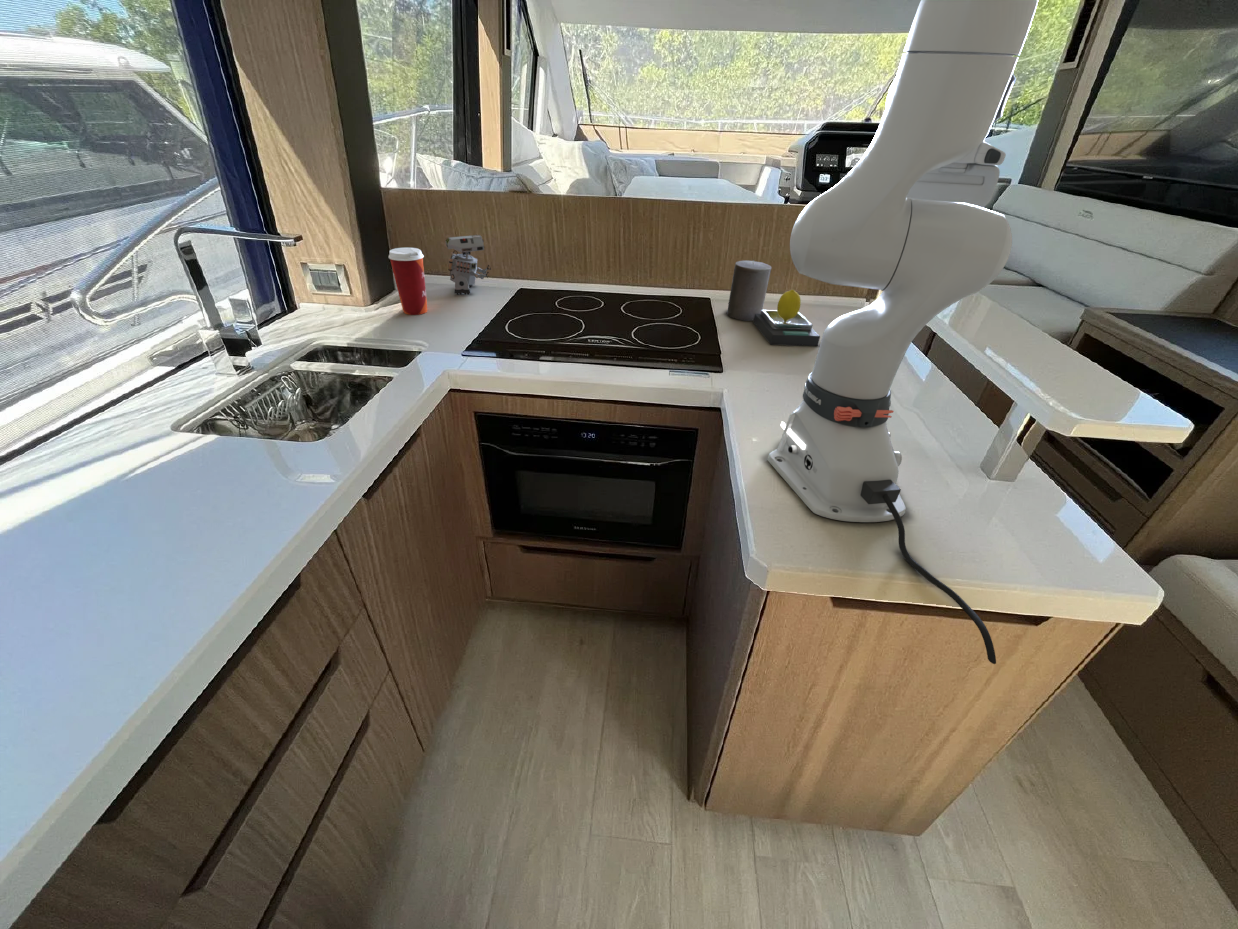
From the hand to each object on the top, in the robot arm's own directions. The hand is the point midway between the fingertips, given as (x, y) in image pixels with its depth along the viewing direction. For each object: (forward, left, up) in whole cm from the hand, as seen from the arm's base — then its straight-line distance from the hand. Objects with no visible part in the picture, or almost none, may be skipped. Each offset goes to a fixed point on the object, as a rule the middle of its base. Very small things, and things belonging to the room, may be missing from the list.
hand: (925, 229), depth 107 cm
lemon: (+19, +17, -26) cm, 37 cm away
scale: (+18, +17, -29) cm, 38 cm away
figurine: (+47, +102, -29) cm, 116 cm away
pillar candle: (+32, +24, -29) cm, 50 cm away
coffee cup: (+27, +113, -29) cm, 120 cm away
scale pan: (+19, +17, -27) cm, 37 cm away
